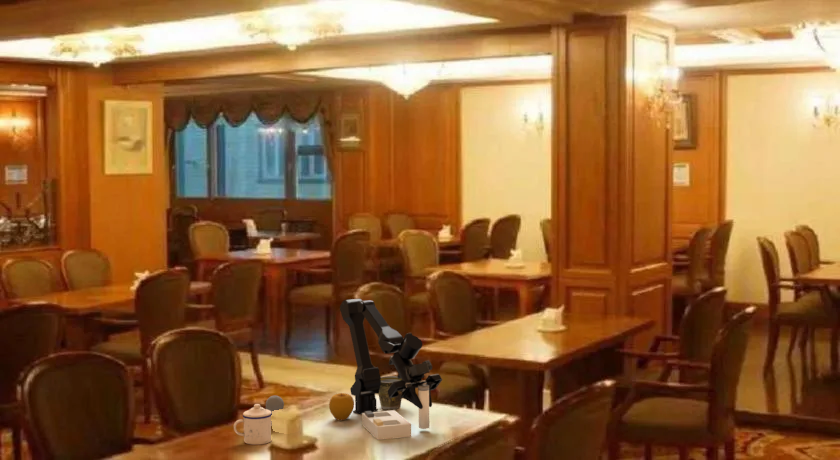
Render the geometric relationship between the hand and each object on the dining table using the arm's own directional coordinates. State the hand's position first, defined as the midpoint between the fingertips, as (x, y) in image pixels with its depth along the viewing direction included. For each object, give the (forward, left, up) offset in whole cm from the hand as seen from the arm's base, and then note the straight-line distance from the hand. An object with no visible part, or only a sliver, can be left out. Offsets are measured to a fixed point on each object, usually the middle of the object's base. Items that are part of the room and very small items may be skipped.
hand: (426, 407), depth 353 cm
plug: (-1, +1, -7) cm, 7 cm away
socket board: (-13, -4, -8) cm, 15 cm away
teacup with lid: (-44, -32, -8) cm, 56 cm away
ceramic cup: (-25, +22, -8) cm, 35 cm away
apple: (-33, +3, -8) cm, 34 cm away
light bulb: (-49, -13, -8) cm, 52 cm away
